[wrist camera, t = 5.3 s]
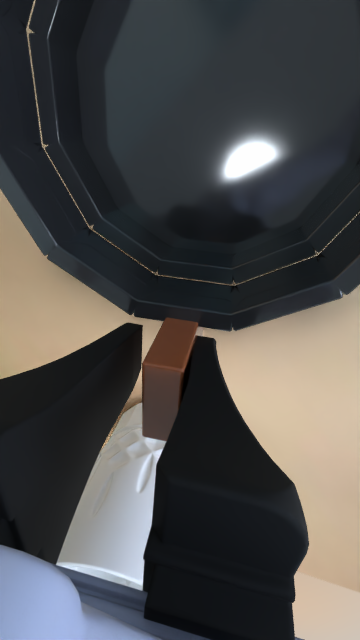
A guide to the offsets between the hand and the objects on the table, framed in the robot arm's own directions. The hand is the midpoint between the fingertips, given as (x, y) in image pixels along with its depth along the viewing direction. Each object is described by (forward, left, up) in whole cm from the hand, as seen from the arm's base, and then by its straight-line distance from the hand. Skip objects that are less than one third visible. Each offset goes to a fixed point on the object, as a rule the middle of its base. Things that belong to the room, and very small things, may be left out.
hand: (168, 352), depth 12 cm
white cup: (+7, +9, -6) cm, 13 cm away
